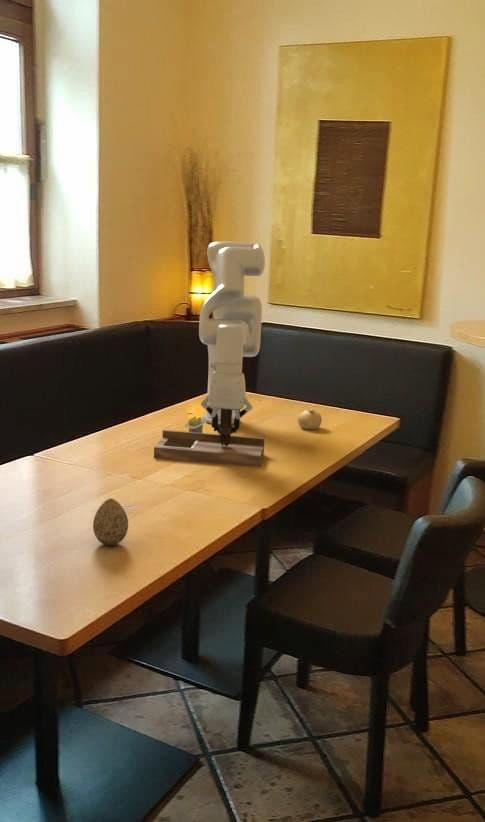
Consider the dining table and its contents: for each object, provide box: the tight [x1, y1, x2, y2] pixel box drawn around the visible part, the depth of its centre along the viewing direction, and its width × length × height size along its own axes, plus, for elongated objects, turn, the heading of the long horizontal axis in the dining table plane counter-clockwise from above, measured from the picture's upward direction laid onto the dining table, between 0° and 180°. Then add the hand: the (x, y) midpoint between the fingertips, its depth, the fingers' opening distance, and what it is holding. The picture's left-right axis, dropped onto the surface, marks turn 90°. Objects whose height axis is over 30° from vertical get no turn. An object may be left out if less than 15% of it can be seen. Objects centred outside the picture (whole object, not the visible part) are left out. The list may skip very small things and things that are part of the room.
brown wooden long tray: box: [153, 429, 265, 468], centre depth 232 cm, size 12×30×5 cm, turn 83°
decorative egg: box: [92, 498, 129, 547], centre depth 167 cm, size 7×7×10 cm
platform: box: [184, 415, 208, 433], centre depth 251 cm, size 12×18×7 cm, turn 160°
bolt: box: [216, 409, 234, 446], centre depth 230 cm, size 6×5×15 cm
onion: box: [297, 408, 323, 430], centre depth 269 cm, size 8×8×7 cm
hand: (225, 430), depth 231 cm, fingers closed on bolt, 5 cm apart
